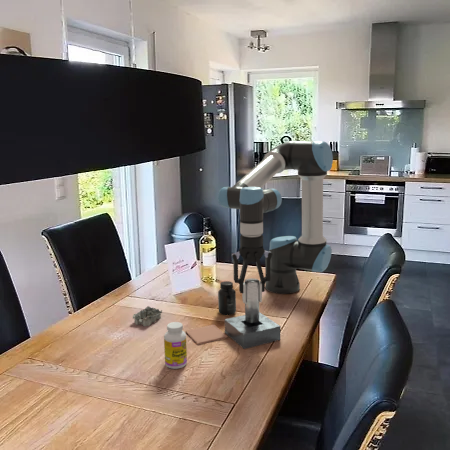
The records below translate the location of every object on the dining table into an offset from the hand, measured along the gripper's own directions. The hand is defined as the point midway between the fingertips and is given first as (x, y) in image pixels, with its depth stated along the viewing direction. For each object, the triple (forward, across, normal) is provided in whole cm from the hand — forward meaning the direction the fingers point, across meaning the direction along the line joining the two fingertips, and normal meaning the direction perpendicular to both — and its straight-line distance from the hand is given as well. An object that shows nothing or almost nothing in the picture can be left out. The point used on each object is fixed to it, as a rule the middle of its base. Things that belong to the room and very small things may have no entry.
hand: (252, 301), depth 159 cm
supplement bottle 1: (+13, +26, +16) cm, 33 cm away
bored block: (+13, 0, 0) cm, 13 cm away
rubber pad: (+13, +16, -3) cm, 20 cm away
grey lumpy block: (+13, +36, -19) cm, 43 cm away
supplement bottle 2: (+13, +6, -22) cm, 26 cm away
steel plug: (+7, 0, 0) cm, 7 cm away
